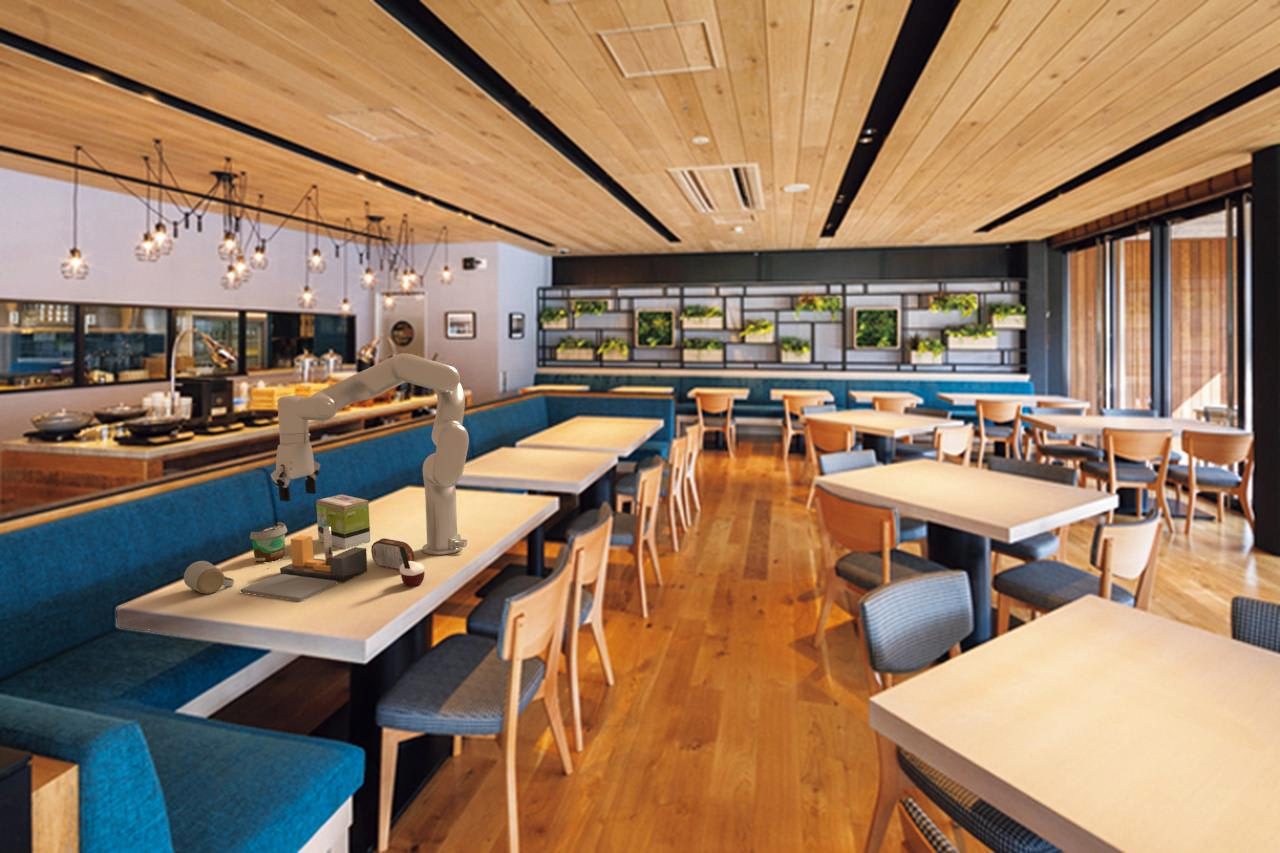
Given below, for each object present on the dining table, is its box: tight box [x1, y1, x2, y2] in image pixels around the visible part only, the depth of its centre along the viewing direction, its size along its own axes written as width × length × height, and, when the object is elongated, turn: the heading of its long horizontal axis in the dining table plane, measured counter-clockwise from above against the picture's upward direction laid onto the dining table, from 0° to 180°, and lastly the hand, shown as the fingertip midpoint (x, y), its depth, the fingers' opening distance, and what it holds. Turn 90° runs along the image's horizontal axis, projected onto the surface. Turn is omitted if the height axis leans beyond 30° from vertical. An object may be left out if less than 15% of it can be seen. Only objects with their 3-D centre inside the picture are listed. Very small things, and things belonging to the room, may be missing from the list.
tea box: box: [315, 494, 371, 550], centre depth 228 cm, size 15×10×15 cm, turn 58°
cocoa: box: [399, 547, 426, 587], centre depth 189 cm, size 10×6×12 cm, turn 146°
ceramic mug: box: [183, 560, 235, 595], centre depth 185 cm, size 11×8×8 cm
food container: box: [249, 521, 288, 564], centre depth 210 cm, size 12×6×10 cm, turn 168°
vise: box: [279, 526, 368, 584], centre depth 197 cm, size 22×10×14 cm, turn 73°
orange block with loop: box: [290, 534, 331, 572], centre depth 198 cm, size 14×6×8 cm, turn 73°
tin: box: [370, 538, 415, 571], centre depth 202 cm, size 15×3×8 cm, turn 65°
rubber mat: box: [239, 573, 337, 602], centre depth 186 cm, size 20×13×1 cm, turn 73°
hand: (298, 496), depth 198 cm, fingers open, 9 cm apart
